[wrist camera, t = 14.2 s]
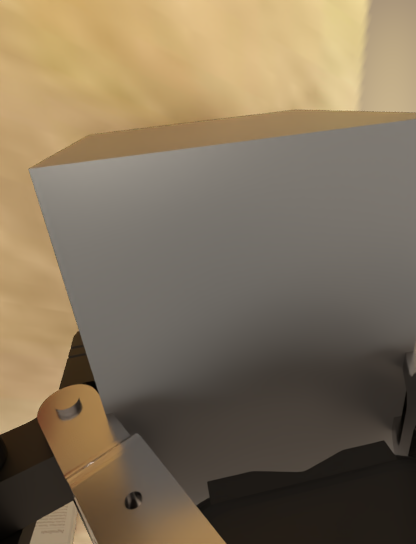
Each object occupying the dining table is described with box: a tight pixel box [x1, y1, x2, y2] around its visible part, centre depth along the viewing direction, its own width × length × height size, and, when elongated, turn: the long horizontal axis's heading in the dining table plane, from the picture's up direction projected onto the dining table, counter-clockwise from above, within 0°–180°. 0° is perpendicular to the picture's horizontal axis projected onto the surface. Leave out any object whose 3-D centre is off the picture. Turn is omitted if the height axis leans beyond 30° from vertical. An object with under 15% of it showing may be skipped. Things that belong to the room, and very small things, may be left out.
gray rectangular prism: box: [29, 110, 416, 505], centre depth 11 cm, size 12×7×7 cm, turn 6°
